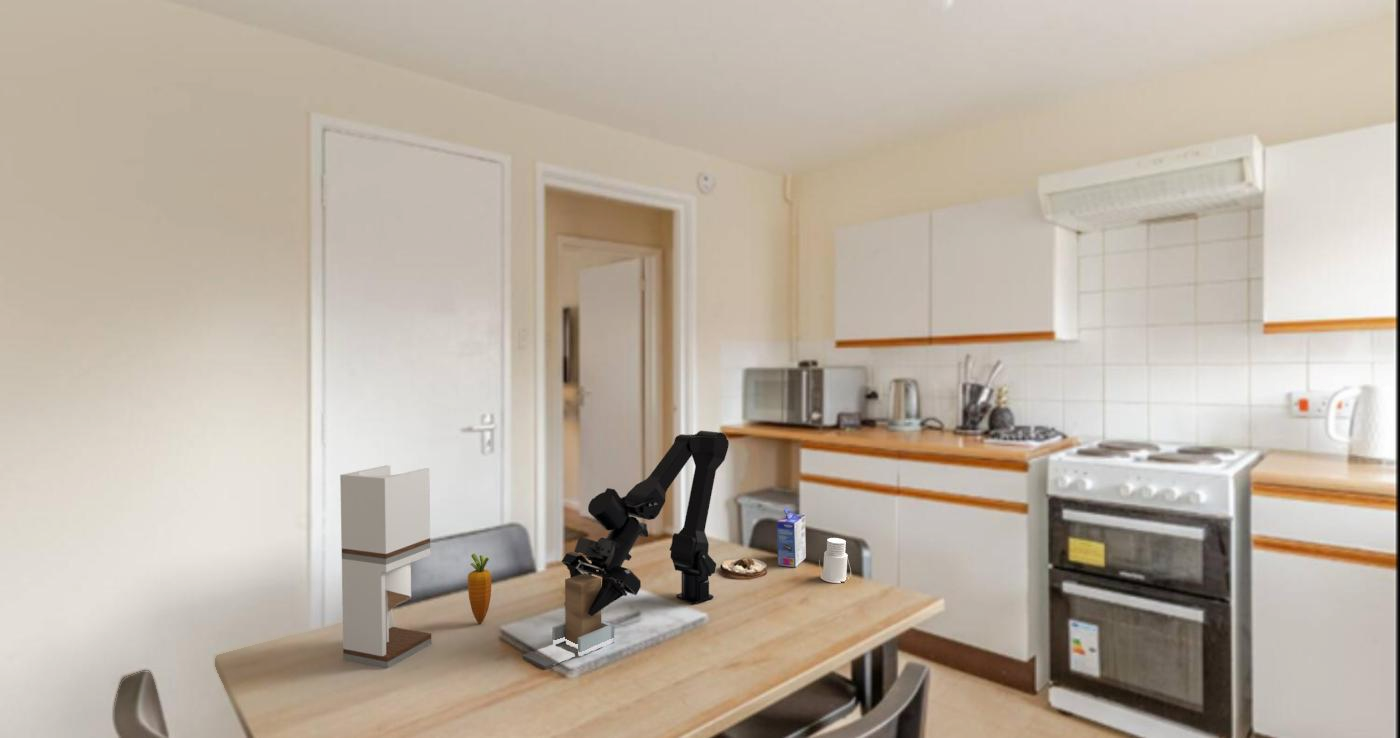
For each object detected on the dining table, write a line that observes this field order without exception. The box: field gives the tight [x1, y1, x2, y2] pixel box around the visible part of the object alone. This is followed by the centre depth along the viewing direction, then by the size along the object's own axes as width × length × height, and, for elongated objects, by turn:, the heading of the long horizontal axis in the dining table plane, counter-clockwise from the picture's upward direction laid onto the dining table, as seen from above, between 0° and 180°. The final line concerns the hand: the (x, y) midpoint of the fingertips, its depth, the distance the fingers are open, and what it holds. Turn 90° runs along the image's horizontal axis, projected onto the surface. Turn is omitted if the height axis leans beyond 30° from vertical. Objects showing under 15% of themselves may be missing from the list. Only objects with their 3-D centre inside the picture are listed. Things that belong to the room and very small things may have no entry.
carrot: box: [467, 553, 492, 625], centre depth 149 cm, size 5×5×15 cm
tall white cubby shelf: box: [339, 464, 432, 669], centre depth 136 cm, size 11×11×35 cm
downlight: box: [818, 537, 852, 584], centre depth 178 cm, size 8×7×10 cm
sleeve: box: [522, 619, 615, 670], centre depth 137 cm, size 16×9×4 cm, turn 139°
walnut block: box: [564, 573, 602, 644], centre depth 139 cm, size 5×5×13 cm
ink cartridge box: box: [776, 507, 807, 568], centre depth 192 cm, size 10×6×14 cm, turn 155°
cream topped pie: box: [719, 557, 769, 580], centre depth 184 cm, size 15×15×4 cm
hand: (577, 610), depth 138 cm, fingers open, 7 cm apart
